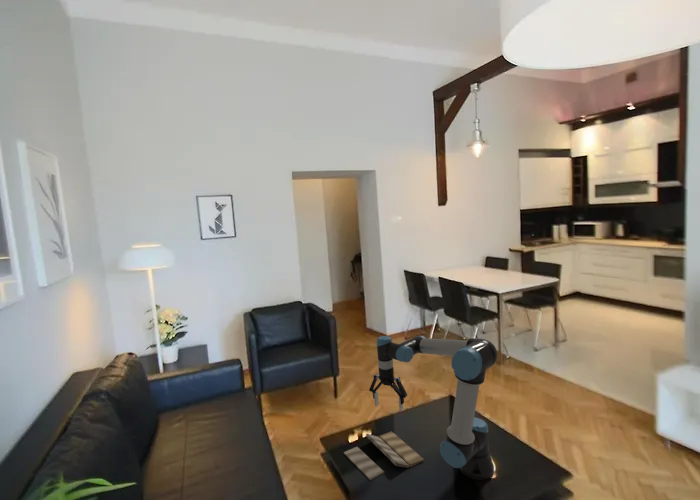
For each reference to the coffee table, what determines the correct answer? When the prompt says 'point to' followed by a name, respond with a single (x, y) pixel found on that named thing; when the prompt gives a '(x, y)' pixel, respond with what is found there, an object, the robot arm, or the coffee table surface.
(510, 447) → the coffee table surface
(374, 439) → the board
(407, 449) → the laid board
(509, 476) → the coffee table surface
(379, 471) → the plank
